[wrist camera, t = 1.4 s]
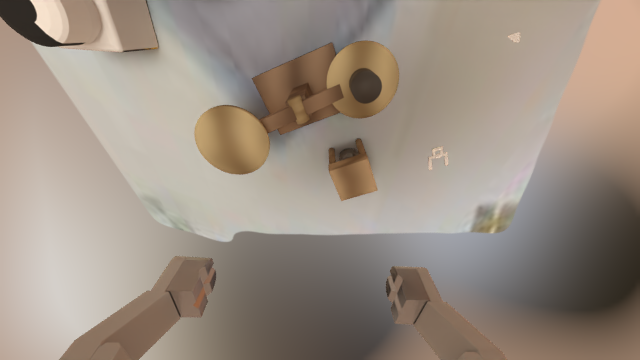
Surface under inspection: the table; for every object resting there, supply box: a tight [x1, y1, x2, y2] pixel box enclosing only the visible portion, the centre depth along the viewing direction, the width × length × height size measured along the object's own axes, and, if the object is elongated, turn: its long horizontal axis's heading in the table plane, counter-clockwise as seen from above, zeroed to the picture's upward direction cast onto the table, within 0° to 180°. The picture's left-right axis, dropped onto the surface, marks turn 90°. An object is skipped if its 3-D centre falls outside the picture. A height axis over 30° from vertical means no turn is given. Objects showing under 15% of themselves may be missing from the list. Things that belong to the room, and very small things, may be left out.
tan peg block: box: [329, 139, 377, 201], centre depth 37 cm, size 6×6×8 cm
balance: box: [195, 41, 399, 174], centre depth 29 cm, size 23×9×13 cm, turn 111°
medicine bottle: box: [0, 0, 158, 52], centre depth 24 cm, size 7×7×12 cm
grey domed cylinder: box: [339, 148, 359, 161], centre depth 38 cm, size 4×4×4 cm
